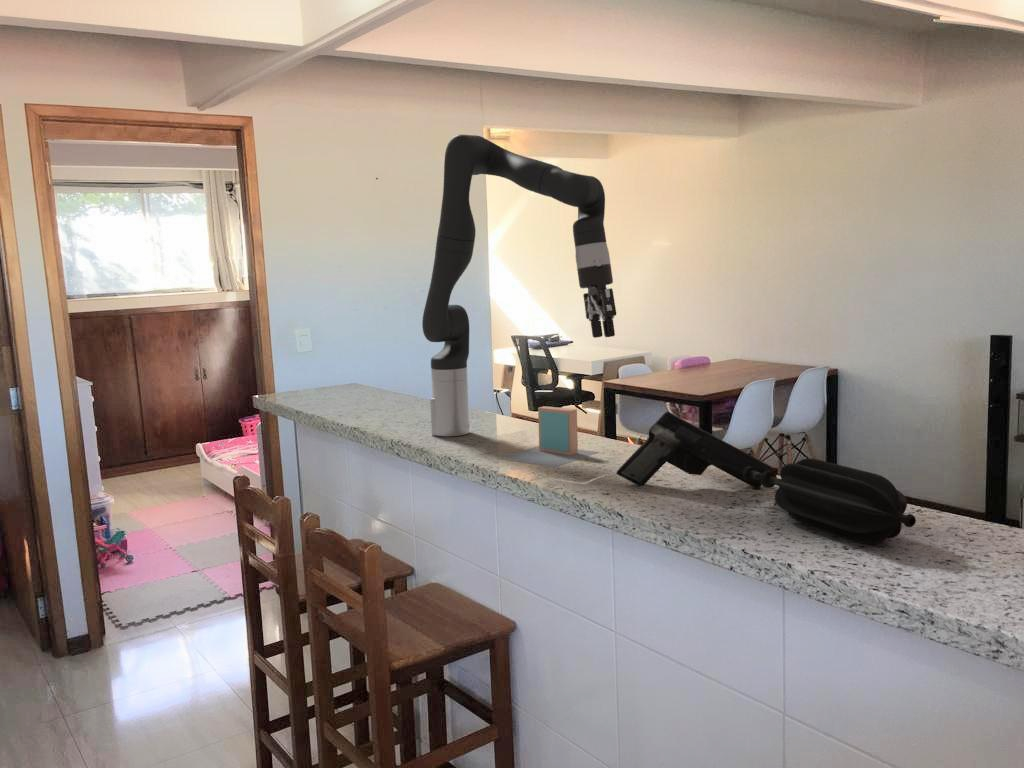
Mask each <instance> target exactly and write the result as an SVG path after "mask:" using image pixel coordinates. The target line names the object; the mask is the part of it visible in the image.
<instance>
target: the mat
mask: <svg viewBox="0 0 1024 768" xmlns="http://www.w3.org/2000/svg"><path fill="white" fill-rule="evenodd" d="M598 453H600V452H599V451H593V450H585V449H578V453H577V454H574V455H567V454H559V453H552V452H544V451H539V445H537V446H534V447H530V448H527V449H523V450H520V451H517V452H513V453H510V454H507V455H504V456H501V457H497V458H496V459H497V460H502V461H509V462H516V463H522V464H530V465H536V466H542V467H550V468H558V467H560V466H564V465H566V464H569V463H572V462H575V461H577V460H581V459H584V458H586V457H589V456H592V455H595V454H598Z"/></svg>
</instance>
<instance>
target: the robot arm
mask: <svg viewBox="0 0 1024 768" xmlns="http://www.w3.org/2000/svg"><path fill="white" fill-rule="evenodd" d="M443 163H444V166H443V169H444V170H443V190H442V192H443V193H442V199H441V208H440V217H439V224H438V231H437V236H436V243H435V251H434V252H435V254H434V260H433V267H432V273H431V278H430V283H429V288H428V293H427V297H426V302H425V306H424V309H423V315H422V322H421V325H422V332H423V335H424V337H425V338H426V340H427V341H428V342H431V343H443V342H444V344H443V347H442V349H441V350H440V351H439V352H437V354H435V355H433V356H432V357H431V358H430V371H431V375H430V376H431V391H432V392H431V395H432V397H431V398H430V401H429V402H430V403H429V404H430V423H431V425H430V426H431V435H432V436H438V437H458V436H465V435H467V434H469V433H470V411H469V392H468V391H469V390H468V389H469V385H468V359H469V355H470V320H469V316H468V313H467V311H466V309H465V307H463V306H462V305H460V304H450V299H451V295H452V292H453V289H454V288H455V286H456V284H457V282H458V281H459V280H460V278H461V277H462V276H463V273H464V272H465V271H466V269H467V268H468V266H469V264H470V263H471V260H472V258H473V255H474V247H475V241H476V232H477V231H476V226H475V225H476V224H475V219H474V217H473V216H474V215H473V212H472V209H471V208H472V207H471V205H470V191H471V184H472V178H473V176H477V175H489V176H495V177H500V178H504V179H506V180H509V181H510V182H512V183H514V184H516V185H517V186H519V187H521V188H523V189H525V190H527V191H530V192H533V193H535V194H539V195H542V196H545V197H549V198H552V199H554V200H556V201H558V202H560V203H563V204H564V205H568V206H571V207H574V208H577V220H575V221H574V223H573V224H572V233H573V241H574V249H575V263H576V271H577V277H578V285H579V288H580V289H587V292H586V293H583V302H584V303H583V304H584V309H585V311H584V312H585V318H586V319H587V320H588V321H589V322H590V328H591V333H592V337H593V338H601V337H603V335H604V337H605V338H610V337H611V338H612V337H615V335H616V334H615V333H616V331H615V325H614V324H615V323H614V318H615V317H616V316H617V310H616V303H615V298H614V291H613V288H612V287H611V288H608V287H607V286H609V285H612V284H613V283H614V280H613V279H614V278H613V272H612V271H613V270H612V265H611V257H610V251H609V248H608V244H607V237H606V231H605V225H604V221H605V212H606V211H605V209H606V195H605V189H604V185H603V184H602V182H601V180H600V179H598V178H597V177H595V176H592V175H586V174H580V173H575V172H572V171H568V170H566V169H565V170H564V169H563V168H561V167H559V166H558V165H554V164H551V163H548V162H545V161H543V160H540V159H539V160H538V159H534V158H532V157H528V156H523V155H521V154H517V153H516V152H515V153H514V152H512V151H510V150H507V149H505V148H503V147H502V146H500V145H498V144H496V143H495V142H492V141H491V140H489V139H486V138H485V137H483V136H481V135H477V134H475V135H473V134H457V135H454V136H452V138H451V139H450V140H449V142H448V143H447V146H446V149H445V153H444V162H443ZM601 320H602V322H601ZM602 327H603V329H602Z"/></svg>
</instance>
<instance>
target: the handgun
mask: <svg viewBox="0 0 1024 768" xmlns="http://www.w3.org/2000/svg"><path fill="white" fill-rule="evenodd" d="M648 429H649V430H648V439H646V440H645V441H644V442H643V443H642V444H641V445H640V446H639V447H638V448H637V449H636V450H635V452H633V453H632V454H631V455H630V456H629V458H628V459H626V461H625V462H624V463H622V464H621V466H620V467H619V468H618V469H617V470H616V473H615V474H616V475H618V476H619V477H621V478H623V479H625V480H626V481H629V482H631V483H632V484H634V485H635V486H638V487H640V486H643V487H644V486H645V485H646V484H647V482H648V481H650V480H651V478H652V477H653V476H654V475H655V474H656V473H658V471H659V470H660V468H662V467H663V466H664V465H665V464H666V463H668V464H669V465H672V466H673V467H675V468H678V469H680V470H681V471H683V472H685V473H687V474H688V475H695V476H701V475H702V474H703V473H705V471H706V470H707V469H708V468H709V467H710V466H713V467H715V468H716V469H719V470H721V471H722V472H724V473H726V474H728V475H730V476H731V477H734V478H735V479H737V480H739V481H742V482H743V483H744V484H746V485H748V486H750V487H752V488H754V489H756V490H759V489H760V488H761V486H762V485H761V482H760V480H756V479H754V480H752V481H749V480H745V479H744V478H743V477H742V471H743V469H744V468H745V467H747V466H749V467H753V468H755V469H756V472H759V473H763V472H764V471H767V470H769V471H771V468H772V466H771V465H769V464H767V462H766V463H765V462H764V461H762V460H760V459H758V458H756V457H754V456H753V455H751V454H749V453H747V452H745V451H743V450H741V449H739V448H737V447H735V446H734V445H732V444H731V443H728V442H726V441H725V440H723V439H721V438H719V437H717V436H715V435H713V434H711V433H710V432H708V431H705V429H704V430H703V429H702V428H700V427H698V426H696V425H695V424H692V422H691V423H690V422H689V421H687V420H685V419H683V418H681V417H679V416H677V415H675V414H674V413H672V412H670V411H668V410H667V411H665V412H664V413H662V414H661V416H660V417H659V418H658V419H657V420H656V421H655V422H654V423H653V424H652V426H651V427H650V428H648Z"/></svg>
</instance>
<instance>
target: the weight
mask: <svg viewBox="0 0 1024 768" xmlns="http://www.w3.org/2000/svg"><path fill="white" fill-rule="evenodd" d="M779 475H780V478H779V477H778V476H777V473H776V472H775V471H773V470H770V471H769V470H767V471H764V472H763V473H759V472H756V469H755V468H753V467H749V466H747V467H745V468H744V469H743V471H742V477H743V478H744V479H745V480H749V481H752V480H754V479H756V480H760V482H761V486H762V487H764V488H766V489H771V488H773V487H775V486H777V487H778V488H777V490H775V494H774V502H775V504H776V505H777V506H778V507H779V508H780V509H782V510H784V511H786V512H787V514H788V516H789V517H791V519H793V520H795V521H796V522H799V523H801V524H803V525H807V526H810V527H812V528H816V529H818V530H821V531H825V532H827V533H831V534H833V535H836V536H839V537H842V538H845V539H848V540H851V541H854V542H857V543H860V544H863V545H876V544H879V543H880V544H881V543H882V542H884V541H885V540H886V539H893V538H896V537H898V535H900V533H901V531H902V524H903V525H904V526H905V527H906V528H912V527H913V526H915V525H916V522H917V520H916V516H915V515H913V514H912V513H908V514H904V513H905V512H906V510H907V507H908V501H907V498H906V496H905V494H903V493H902V491H900V490H899V489H897V488H896V487H895V486H894V484H893V483H892V482H891V481H890V480H889V479H888V478H886V477H884V476H883V475H880V474H877V473H873V472H870V471H865V470H861V469H858V468H853V467H849V466H847V465H842V464H836V463H832V462H830V461H824V460H822V459H821V460H820V459H817V458H803V459H801V460H798V461H797V462H795V463H786V464H783V466H782V467H781V469H780V474H779Z"/></svg>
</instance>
